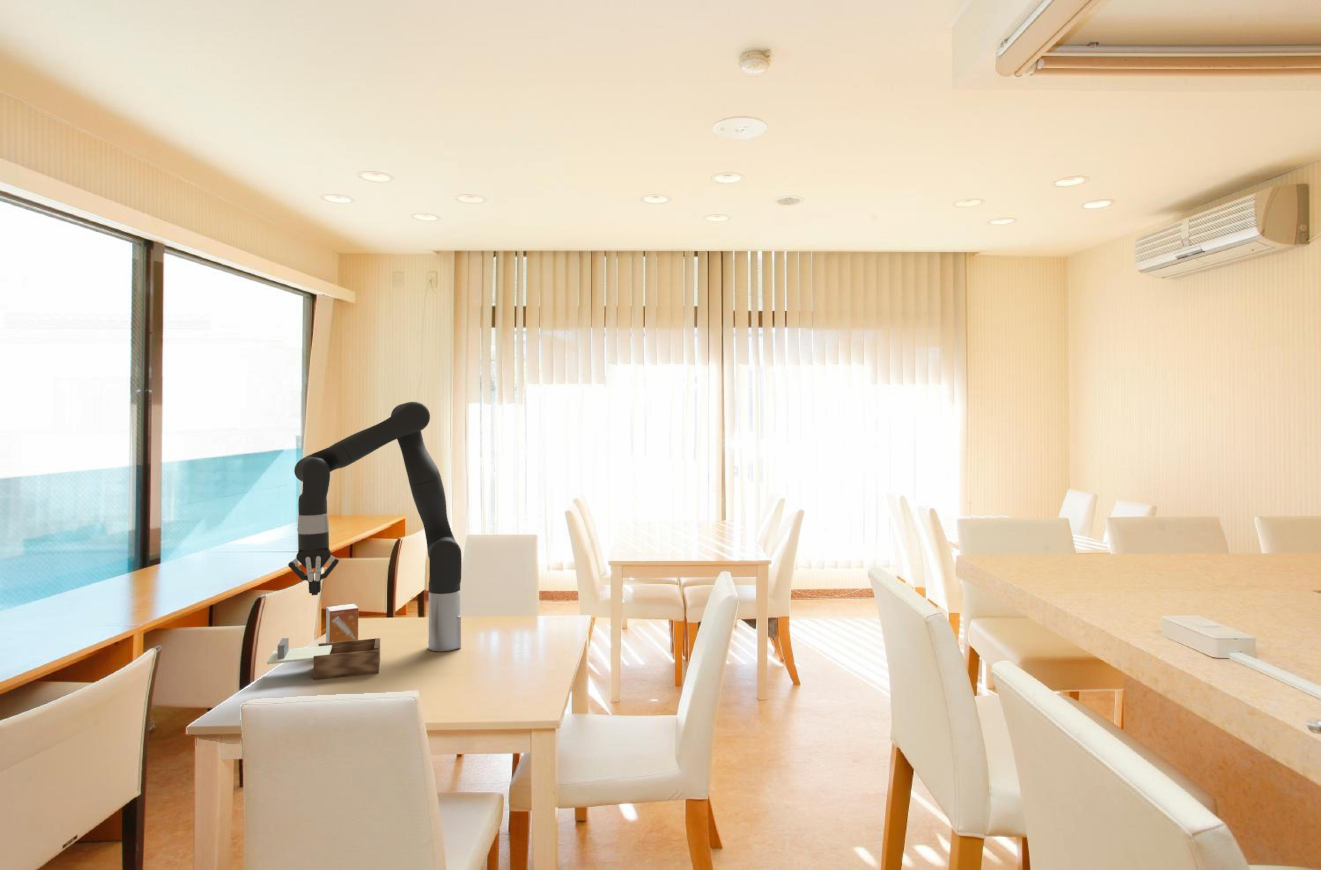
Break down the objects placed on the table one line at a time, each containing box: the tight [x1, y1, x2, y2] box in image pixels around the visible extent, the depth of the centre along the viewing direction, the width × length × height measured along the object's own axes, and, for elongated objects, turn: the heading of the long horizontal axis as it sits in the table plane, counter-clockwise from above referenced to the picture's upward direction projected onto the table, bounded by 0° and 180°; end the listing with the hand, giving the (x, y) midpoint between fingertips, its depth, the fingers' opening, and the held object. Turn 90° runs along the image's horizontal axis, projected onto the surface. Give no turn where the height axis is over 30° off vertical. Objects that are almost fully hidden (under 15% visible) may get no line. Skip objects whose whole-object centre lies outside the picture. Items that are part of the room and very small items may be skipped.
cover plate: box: [266, 637, 332, 665], centre depth 193 cm, size 14×11×4 cm
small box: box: [325, 603, 359, 643], centre depth 214 cm, size 8×6×13 cm
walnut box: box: [313, 637, 381, 680], centre depth 197 cm, size 16×12×6 cm
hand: (314, 594), depth 194 cm, fingers closed
